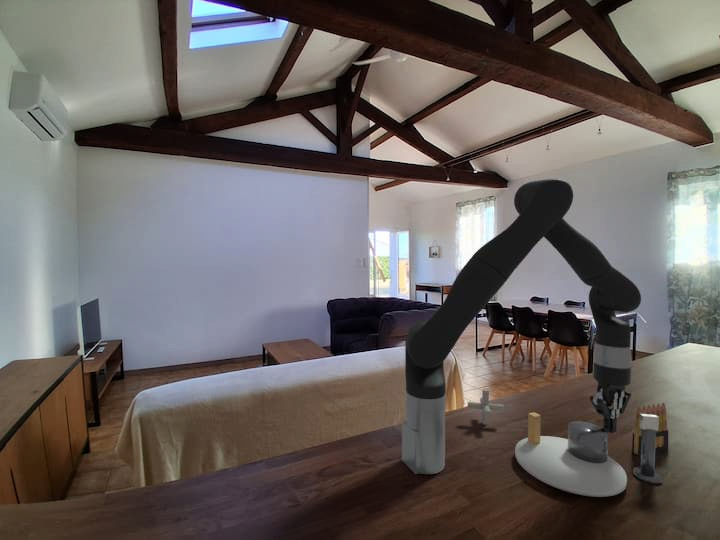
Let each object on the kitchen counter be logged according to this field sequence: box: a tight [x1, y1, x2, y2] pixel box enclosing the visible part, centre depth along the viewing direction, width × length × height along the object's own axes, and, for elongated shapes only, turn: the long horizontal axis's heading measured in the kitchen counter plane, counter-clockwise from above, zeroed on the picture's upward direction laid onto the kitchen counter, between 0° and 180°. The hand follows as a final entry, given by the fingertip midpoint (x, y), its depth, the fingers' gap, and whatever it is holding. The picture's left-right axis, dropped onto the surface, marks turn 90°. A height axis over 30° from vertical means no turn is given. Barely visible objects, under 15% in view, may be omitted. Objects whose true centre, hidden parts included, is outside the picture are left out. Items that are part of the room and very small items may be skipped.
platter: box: [514, 411, 628, 498], centre depth 80 cm, size 22×22×8 cm
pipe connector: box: [467, 388, 505, 426], centre depth 103 cm, size 10×10×10 cm
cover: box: [567, 420, 609, 463], centre depth 83 cm, size 8×8×6 cm
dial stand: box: [632, 414, 663, 485], centre depth 78 cm, size 5×5×14 cm
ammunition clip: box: [631, 402, 669, 457], centre depth 88 cm, size 11×2×12 cm, turn 108°
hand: (609, 431), depth 87 cm, fingers closed
